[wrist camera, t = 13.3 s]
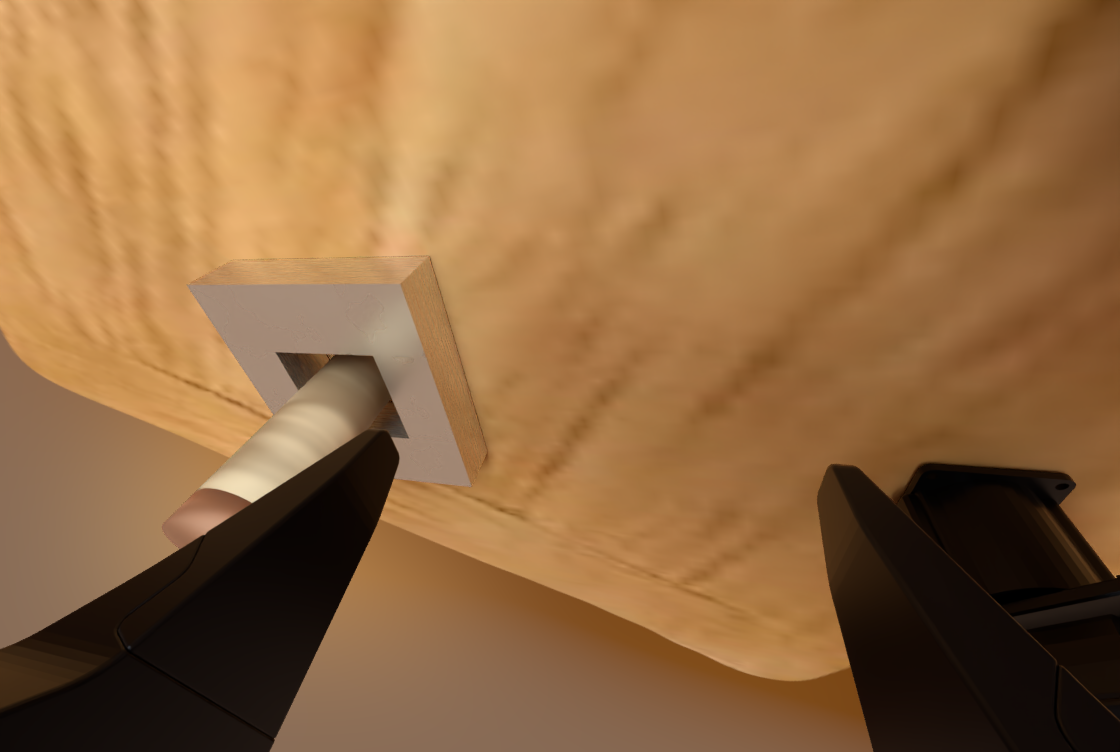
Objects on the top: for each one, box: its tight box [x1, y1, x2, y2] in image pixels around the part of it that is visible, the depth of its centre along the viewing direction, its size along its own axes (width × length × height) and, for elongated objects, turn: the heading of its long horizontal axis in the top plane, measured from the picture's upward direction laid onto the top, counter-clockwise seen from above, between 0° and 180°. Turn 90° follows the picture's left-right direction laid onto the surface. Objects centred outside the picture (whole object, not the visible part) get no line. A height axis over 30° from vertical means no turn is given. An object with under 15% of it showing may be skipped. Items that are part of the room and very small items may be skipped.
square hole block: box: [187, 256, 487, 487], centre depth 26 cm, size 12×14×3 cm
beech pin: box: [162, 354, 391, 549], centre depth 23 cm, size 4×4×12 cm
